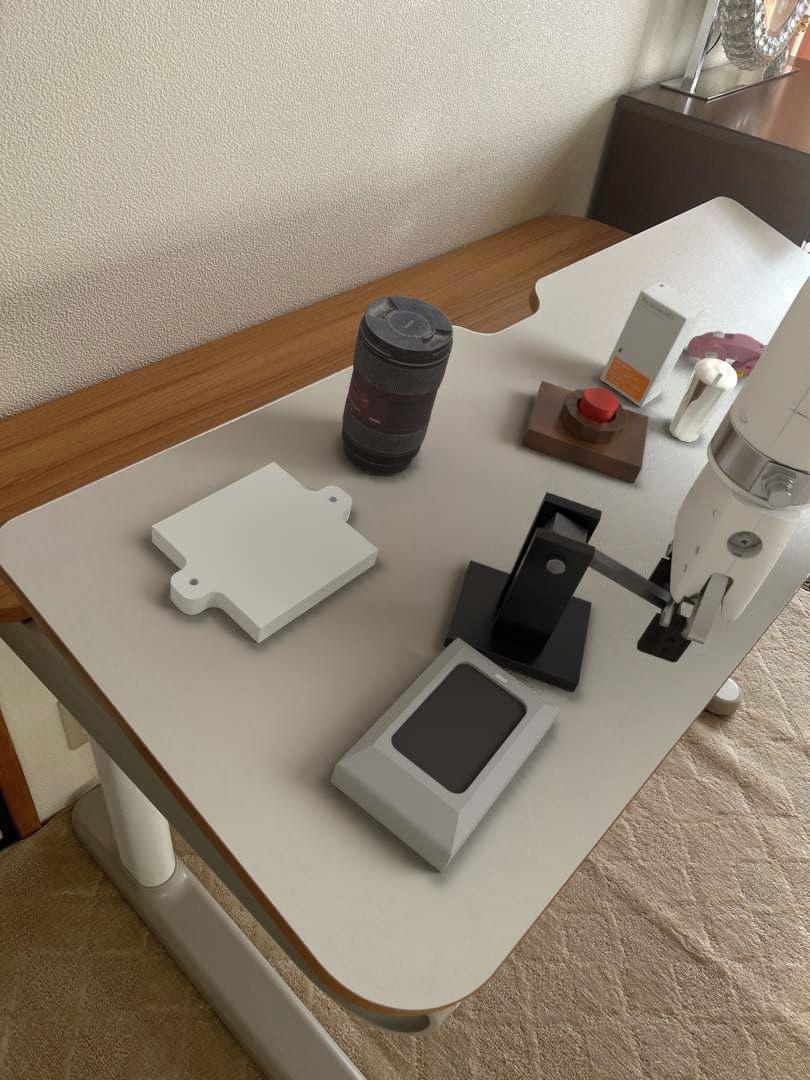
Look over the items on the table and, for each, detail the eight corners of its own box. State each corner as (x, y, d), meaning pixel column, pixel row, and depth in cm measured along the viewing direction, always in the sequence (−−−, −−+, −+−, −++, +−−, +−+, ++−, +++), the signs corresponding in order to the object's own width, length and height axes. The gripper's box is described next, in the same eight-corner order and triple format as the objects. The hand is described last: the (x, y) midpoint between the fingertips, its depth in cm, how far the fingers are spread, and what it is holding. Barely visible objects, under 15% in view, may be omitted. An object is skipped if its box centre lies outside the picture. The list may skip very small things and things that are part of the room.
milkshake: (658, 439, 96) (699, 365, 88) (666, 413, 99) (706, 339, 92) (698, 456, 95) (742, 382, 88) (705, 429, 99) (748, 356, 92)
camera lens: (320, 457, 83) (344, 322, 72) (359, 414, 88) (388, 282, 77) (396, 495, 81) (433, 362, 71) (431, 448, 87) (471, 319, 76)
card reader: (338, 755, 58) (461, 626, 68) (330, 781, 61) (450, 653, 70) (455, 849, 55) (566, 700, 65) (441, 872, 58) (550, 726, 68)
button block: (640, 432, 96) (655, 403, 93) (633, 483, 90) (649, 454, 87) (535, 396, 96) (547, 366, 94) (521, 445, 90) (533, 414, 87)
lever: (670, 593, 70) (690, 577, 68) (666, 641, 66) (688, 625, 65) (542, 517, 68) (559, 499, 66) (531, 562, 65) (549, 543, 63)
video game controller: (679, 373, 108) (703, 345, 102) (684, 341, 110) (709, 312, 103) (755, 395, 109) (785, 368, 102) (760, 363, 110) (789, 334, 103)
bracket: (587, 610, 77) (646, 508, 67) (573, 692, 70) (636, 591, 61) (467, 568, 77) (509, 460, 68) (442, 646, 71) (485, 538, 62)
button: (613, 407, 92) (620, 394, 90) (610, 427, 89) (616, 414, 88) (580, 396, 92) (586, 382, 90) (576, 415, 89) (582, 402, 88)
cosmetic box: (597, 380, 101) (639, 289, 92) (617, 368, 104) (659, 278, 95) (641, 409, 99) (687, 319, 90) (659, 396, 101) (706, 307, 93)
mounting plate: (232, 661, 66) (234, 646, 64) (125, 556, 70) (124, 540, 69) (394, 550, 77) (398, 536, 75) (292, 466, 81) (294, 450, 80)
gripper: (841, 565, 50) (700, 731, 63) (822, 397, 62) (707, 565, 75) (713, 522, 50) (600, 695, 63) (719, 363, 62) (622, 536, 75)
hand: (659, 623), depth 69 cm, fingers closed on lever, 5 cm apart
